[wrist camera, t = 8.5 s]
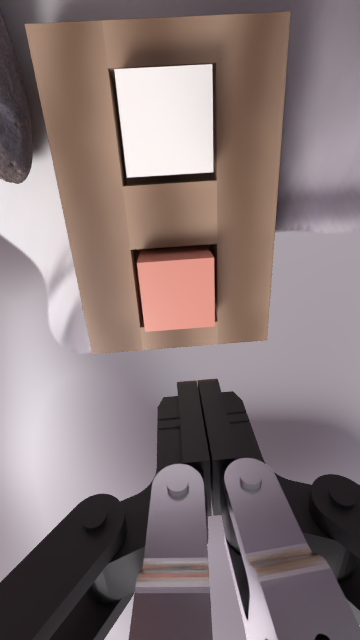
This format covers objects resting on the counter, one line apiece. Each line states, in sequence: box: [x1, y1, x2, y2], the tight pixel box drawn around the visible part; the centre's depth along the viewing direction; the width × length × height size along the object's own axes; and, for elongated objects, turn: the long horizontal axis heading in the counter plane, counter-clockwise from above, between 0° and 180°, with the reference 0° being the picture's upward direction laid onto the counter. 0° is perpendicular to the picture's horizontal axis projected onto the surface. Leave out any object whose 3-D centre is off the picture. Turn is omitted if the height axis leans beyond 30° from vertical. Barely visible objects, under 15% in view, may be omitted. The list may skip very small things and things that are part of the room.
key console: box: [25, 12, 291, 354], centre depth 22 cm, size 14×20×4 cm
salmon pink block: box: [137, 245, 215, 332], centre depth 23 cm, size 5×5×4 cm
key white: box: [114, 64, 213, 178], centre depth 19 cm, size 5×5×4 cm
